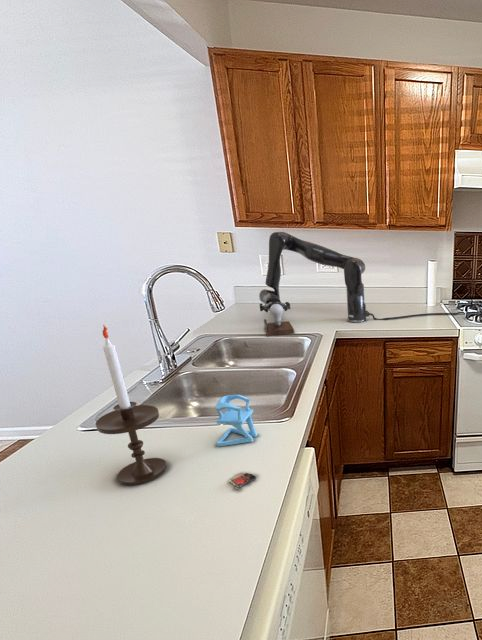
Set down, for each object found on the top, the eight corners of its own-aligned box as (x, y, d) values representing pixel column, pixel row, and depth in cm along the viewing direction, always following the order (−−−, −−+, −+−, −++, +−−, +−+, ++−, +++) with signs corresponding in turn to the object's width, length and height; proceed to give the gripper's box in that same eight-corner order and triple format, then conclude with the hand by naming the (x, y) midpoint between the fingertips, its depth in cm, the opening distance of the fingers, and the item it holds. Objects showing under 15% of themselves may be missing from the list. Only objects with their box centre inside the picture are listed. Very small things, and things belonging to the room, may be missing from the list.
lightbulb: (278, 328, 191) (276, 305, 187) (269, 326, 193) (266, 304, 189) (287, 325, 196) (285, 303, 193) (277, 323, 199) (275, 302, 195)
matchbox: (258, 476, 89) (257, 474, 89) (240, 490, 85) (240, 488, 85) (241, 471, 91) (241, 470, 91) (223, 485, 86) (223, 483, 86)
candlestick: (176, 474, 90) (141, 325, 77) (117, 495, 83) (67, 335, 70) (165, 453, 97) (131, 314, 85) (110, 471, 90) (64, 322, 78)
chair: (249, 447, 101) (242, 404, 96) (215, 446, 100) (207, 404, 96) (260, 431, 108) (255, 391, 104) (230, 430, 108) (223, 390, 103)
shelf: (289, 325, 204) (288, 317, 203) (294, 333, 192) (293, 324, 190) (264, 328, 199) (263, 319, 198) (267, 336, 187) (266, 327, 185)
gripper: (257, 296, 202) (259, 303, 188) (286, 294, 208) (291, 301, 194) (259, 310, 204) (261, 318, 191) (287, 308, 211) (292, 315, 197)
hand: (276, 309), depth 193 cm, fingers open, 8 cm apart
